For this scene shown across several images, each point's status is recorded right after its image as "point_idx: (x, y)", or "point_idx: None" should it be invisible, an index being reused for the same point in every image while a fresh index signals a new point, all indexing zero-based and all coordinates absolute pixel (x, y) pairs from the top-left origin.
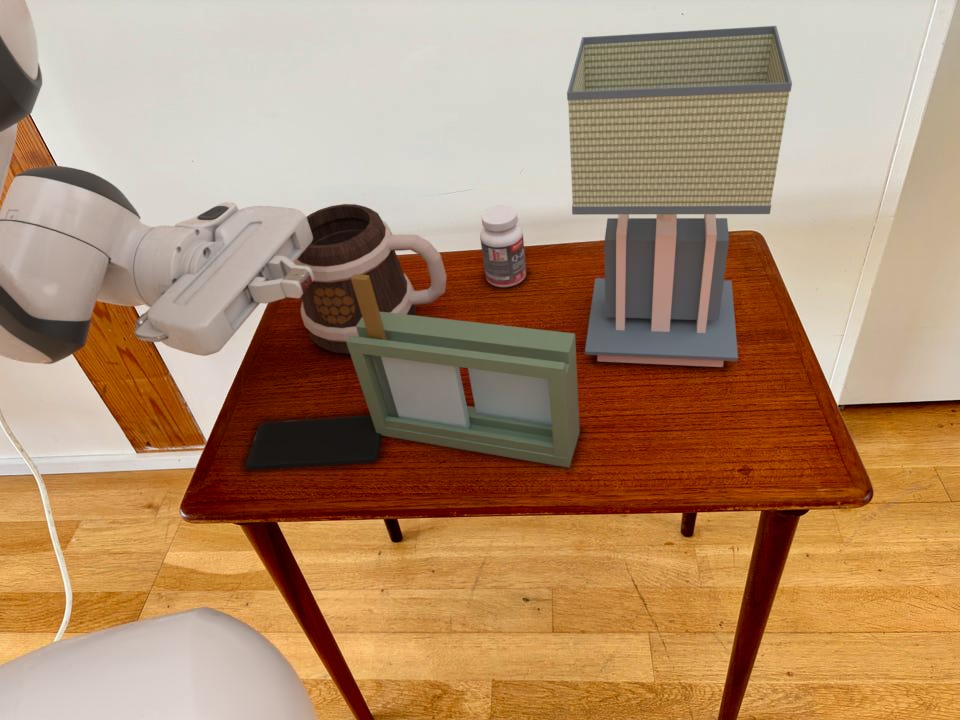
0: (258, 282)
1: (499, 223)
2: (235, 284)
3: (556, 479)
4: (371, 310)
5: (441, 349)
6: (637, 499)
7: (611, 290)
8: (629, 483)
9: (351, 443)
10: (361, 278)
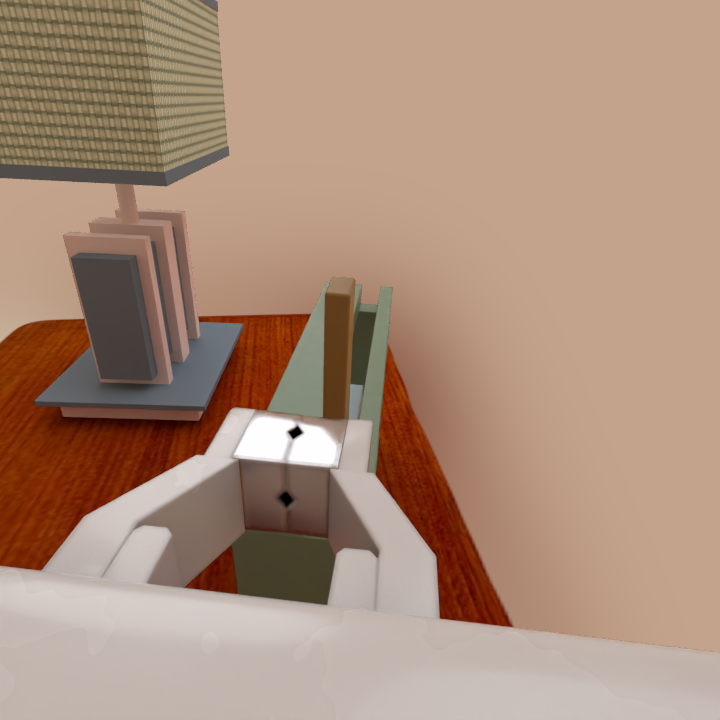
0: (394, 576)
1: None
2: (551, 665)
3: (397, 445)
4: (350, 376)
5: (374, 365)
6: (406, 394)
7: (147, 336)
8: (388, 398)
9: None
10: (350, 281)
